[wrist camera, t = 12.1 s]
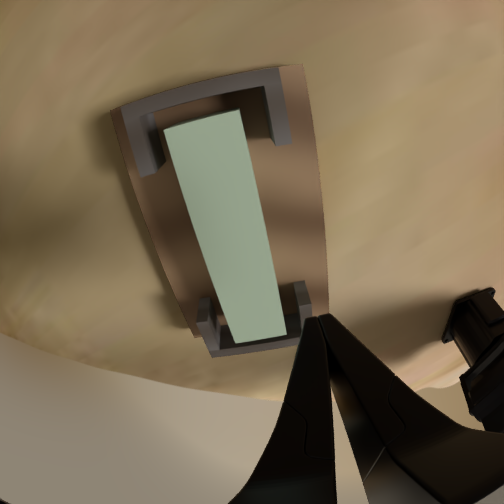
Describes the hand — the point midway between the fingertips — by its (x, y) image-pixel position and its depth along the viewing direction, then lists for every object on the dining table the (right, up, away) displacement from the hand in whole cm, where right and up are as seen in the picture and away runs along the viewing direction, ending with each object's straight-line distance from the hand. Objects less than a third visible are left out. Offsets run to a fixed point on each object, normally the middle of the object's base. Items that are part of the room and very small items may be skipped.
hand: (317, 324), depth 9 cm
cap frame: (-3, +4, +10) cm, 11 cm away
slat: (-3, +4, +9) cm, 10 cm away
